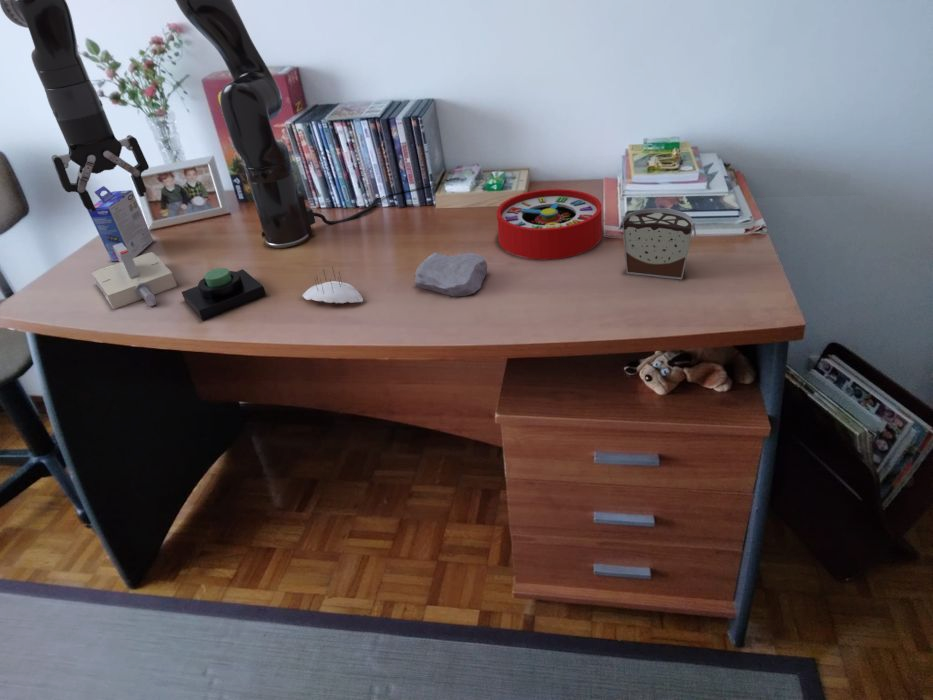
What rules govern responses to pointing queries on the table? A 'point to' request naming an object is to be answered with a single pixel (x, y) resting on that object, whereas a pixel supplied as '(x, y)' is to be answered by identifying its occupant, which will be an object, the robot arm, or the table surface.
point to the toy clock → (549, 223)
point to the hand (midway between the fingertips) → (117, 203)
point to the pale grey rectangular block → (126, 260)
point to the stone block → (452, 274)
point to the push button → (217, 277)
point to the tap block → (133, 280)
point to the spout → (145, 293)
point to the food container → (657, 242)
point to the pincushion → (333, 292)
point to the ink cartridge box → (120, 222)
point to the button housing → (223, 295)
